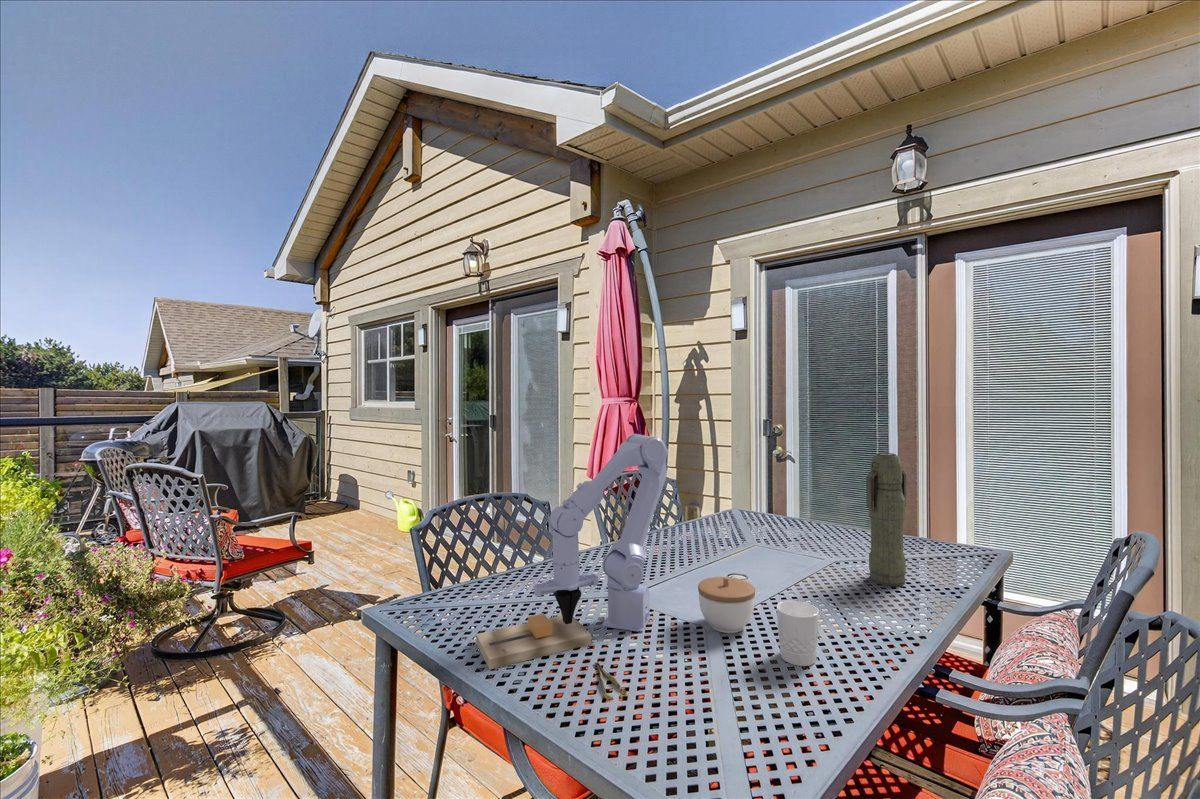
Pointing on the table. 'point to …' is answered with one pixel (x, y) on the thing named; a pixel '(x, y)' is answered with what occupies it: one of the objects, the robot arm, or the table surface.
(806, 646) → the white cup
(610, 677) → the tongs
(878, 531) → the olive green statue
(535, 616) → the fader knob
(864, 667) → the table surface
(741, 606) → the lidded bowl
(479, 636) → the fader panel
